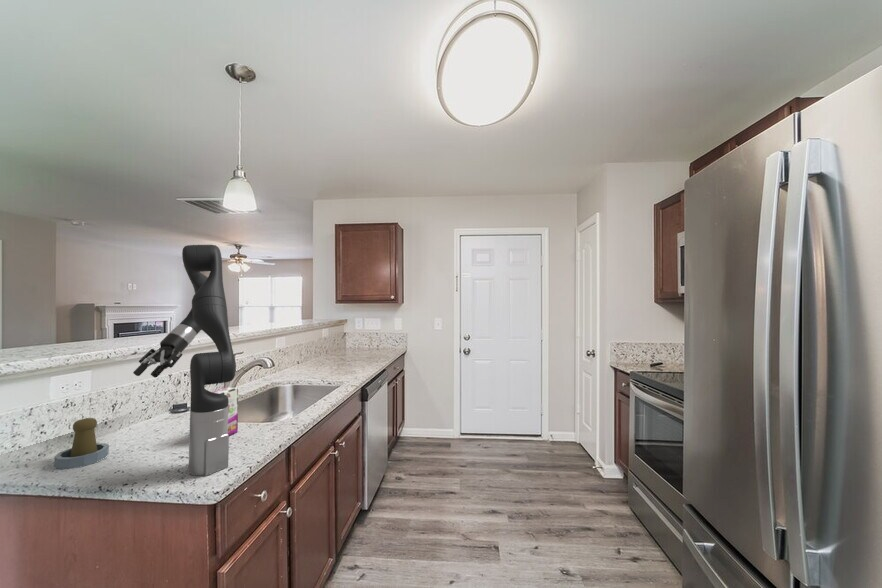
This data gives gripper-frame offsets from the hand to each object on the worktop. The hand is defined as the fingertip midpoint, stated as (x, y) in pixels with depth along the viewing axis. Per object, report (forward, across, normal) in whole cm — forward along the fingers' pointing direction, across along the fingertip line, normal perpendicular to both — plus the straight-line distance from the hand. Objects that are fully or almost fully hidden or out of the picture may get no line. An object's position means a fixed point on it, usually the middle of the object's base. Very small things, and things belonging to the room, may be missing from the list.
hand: (144, 375), depth 120 cm
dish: (+27, -1, +5) cm, 27 cm away
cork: (+26, -2, +5) cm, 26 cm away
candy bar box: (+8, +22, +24) cm, 33 cm away
